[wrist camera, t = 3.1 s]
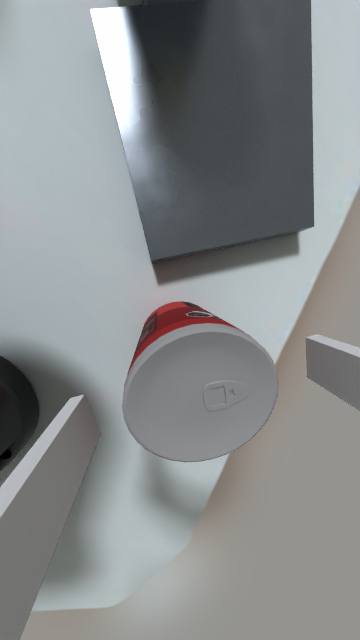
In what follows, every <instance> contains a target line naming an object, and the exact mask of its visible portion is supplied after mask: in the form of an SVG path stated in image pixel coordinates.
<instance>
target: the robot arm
mask: <svg viewBox="0 0 360 640" xmlns="http://www.w3.org/2000/svg"><path fill="white" fill-rule="evenodd" d="M306 360H307V377H308V378H309V379H311V380H312V381H314V382H315V383H317V384H319V385H320V386H322V387H323V388H325V389H326V390H328V391H329V392H331V393H333V394H334V395H336V396H337V397H339V398H340V399H343V400H344V401H345V402H347V403H348V404H350V405H351V406H353V407H355V408H356V409H358V410H359V411H360V348H359V347H355V346H352V345H349V344H346V343H343V342H339V341H336V340H334V339H330V338H327V337H324V336H321V335H318V334H316V335H313V336H309V337H306ZM38 415H39V410H38V402H37V398H36V395H35V393H34V391H33V389H32V387H31V385H30V383H29V382H28V380H27V379H26V378H25V377H24V375H23V374H22V373H21V372H20V371H19V370H18V369H17V368H16V367H15V366H13V365H12V364H11V363H10V362H8V361H7V360H5V359H4V358H2V357H1V356H0V471H1V470H2V469H3V468H5V467H6V466H7V465H8V464H9V463H10V462H11V461H12V460H13V459H14V458H15V456H16V455H17V454H18V453H19V451H20V450H21V449H22V448H23V447H24V445H25V444H26V443H27V442H28V441H29V439H30V438H31V436H32V435H33V433H34V431H35V429H36V426H37V422H38ZM100 435H101V433H100V431H99V428H98V426H97V424H96V421H95V419H94V416H93V414H92V411H91V409H90V406H89V404H88V401H87V399H86V397H85V394H84V395H80V396H76V397H72V398H70V399H69V400H68V402H67V403H66V404H65V405H64V407H63V408H62V409H61V411H60V412H59V413H58V414H57V416H56V417H55V418H54V419H53V421H52V422H51V423H50V425H49V426H48V427H47V428H46V430H45V431H44V432H43V434H42V435H41V436H40V437H39V439H38V440H37V441H36V442H35V444H34V445H33V446H32V448H31V449H30V450H29V451H28V453H27V454H26V455H25V456H24V458H23V459H22V460H21V462H20V463H19V464H18V465H17V467H16V468H15V469H14V470H13V472H12V473H11V474H10V476H9V477H8V478H7V479H6V481H5V482H4V483H3V484H2V486H1V487H0V640H20V638H21V635H22V633H23V630H24V628H25V625H26V622H27V620H28V617H29V615H30V612H31V610H32V607H33V605H34V602H35V600H36V597H37V595H38V592H39V589H40V587H41V584H42V582H43V579H44V577H45V574H46V572H47V569H48V567H49V564H50V562H51V559H52V557H53V554H54V551H55V549H56V546H57V544H58V541H59V539H60V536H61V534H62V531H63V529H64V526H65V524H66V521H67V518H68V516H69V513H70V511H71V508H72V506H73V503H74V501H75V498H76V496H77V493H78V491H79V488H80V486H81V483H82V480H83V478H84V475H85V473H86V470H87V468H88V465H89V463H90V460H91V458H92V455H93V453H94V450H95V448H96V445H97V442H98V440H99V437H100Z"/></svg>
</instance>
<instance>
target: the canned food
mask: <svg viewBox="0 0 360 640" xmlns="http://www.w3.org/2000/svg"><path fill="white" fill-rule="evenodd" d="M277 395H278V376H277V370H276V368H275V365H274V362H273V360H272V358H271V357H270V355H269V354H268V353H267V351H266V350H265V349H264V348H263V347H262V346H261V345H260V344H259V343H258V342H257V341H256V340H254V339H253V338H252V337H251V336H250V335H248V334H246V333H244V332H243V331H241V330H240V329H238V328H236V327H235V326H233V325H231V324H229V323H227V322H226V321H224V320H222V319H220V318H219V317H217V316H215V315H213V314H211V313H210V312H208V311H206V310H204V309H202V308H201V307H199V306H197V305H195V304H192V303H189V302H172V303H169V304H166V305H163V306H161V307H159V308H158V309H157V310H155V311H154V312H153V313H152V314H151V315H150V316H149V317H148V319H147V321H146V322H145V324H144V327H143V330H142V333H141V336H140V339H139V342H138V345H137V348H136V351H135V353H134V356H133V359H132V362H131V365H130V368H129V371H128V375H127V379H126V382H125V385H124V393H123V404H122V408H123V414H124V420H125V422H126V425H127V427H128V429H129V432H130V433H131V434H132V436H133V437H134V438H135V440H136V441H137V442H138V443H139V444H140V445H141V446H143V447H144V448H145V449H146V450H148V451H150V452H151V453H153V454H155V455H157V456H159V457H162V458H166V459H169V460H173V461H181V462H199V461H204V460H210V459H214V458H217V457H220V456H223V455H226V454H228V453H230V452H232V451H234V450H236V449H237V448H239V447H241V446H242V445H244V444H245V443H246V442H248V441H249V440H250V439H251V438H252V437H254V436H255V435H256V434H257V433H258V432H259V431H260V430H261V428H262V427H263V426H264V424H265V423H266V422H267V420H268V418H269V417H270V415H271V413H272V411H273V409H274V406H275V403H276V399H277Z"/></svg>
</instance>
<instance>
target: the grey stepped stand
mask: <svg viewBox="0 0 360 640" xmlns="http://www.w3.org/2000/svg"><path fill="white" fill-rule="evenodd" d="M90 11H91V15H92V19H93V23H94V27H95V31H96V35H97V39H98V44H99V48H100V52H101V56H102V60H103V64H104V68H105V72H106V77H107V81H108V85H109V89H110V93H111V97H112V101H113V105H114V110H115V114H116V118H117V122H118V126H119V130H120V134H121V138H122V143H123V147H124V151H125V155H126V159H127V163H128V167H129V171H130V176H131V180H132V184H133V188H134V192H135V196H136V200H137V204H138V208H139V213H140V217H141V221H142V225H143V229H144V233H145V237H146V241H147V246H148V250H149V254H150V258H151V262H152V263H155V262H160V261H165V260H169V259H174V258H179V257H184V256H188V255H193V254H198V253H203V252H207V251H212V250H217V249H222V248H226V247H231V246H236V245H241V244H245V243H250V242H255V241H260V240H264V239H269V238H274V237H279V236H283V235H288V234H293V233H297V232H300V231H303V230H306V229H309V228H311V227H314V188H313V117H312V45H311V0H143V5H136V6H125V7H113V8H102V9H90Z"/></svg>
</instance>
